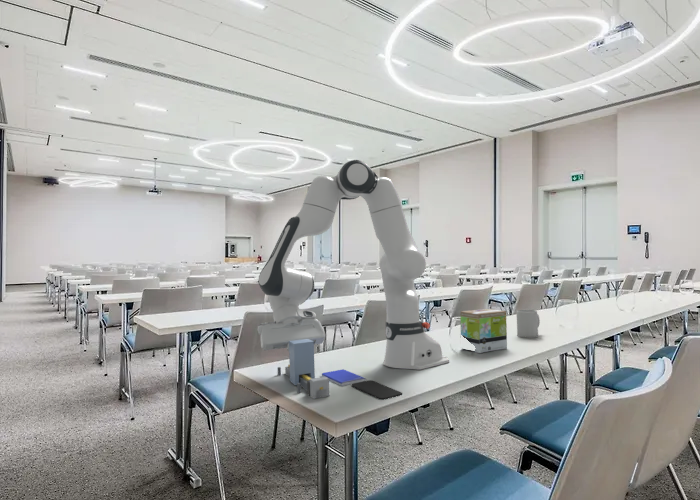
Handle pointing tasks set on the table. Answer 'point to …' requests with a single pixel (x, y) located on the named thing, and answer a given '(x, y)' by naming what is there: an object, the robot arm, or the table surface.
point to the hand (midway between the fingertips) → (298, 356)
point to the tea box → (484, 329)
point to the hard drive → (343, 377)
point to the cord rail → (310, 384)
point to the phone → (376, 389)
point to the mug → (527, 323)
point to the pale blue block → (301, 359)
